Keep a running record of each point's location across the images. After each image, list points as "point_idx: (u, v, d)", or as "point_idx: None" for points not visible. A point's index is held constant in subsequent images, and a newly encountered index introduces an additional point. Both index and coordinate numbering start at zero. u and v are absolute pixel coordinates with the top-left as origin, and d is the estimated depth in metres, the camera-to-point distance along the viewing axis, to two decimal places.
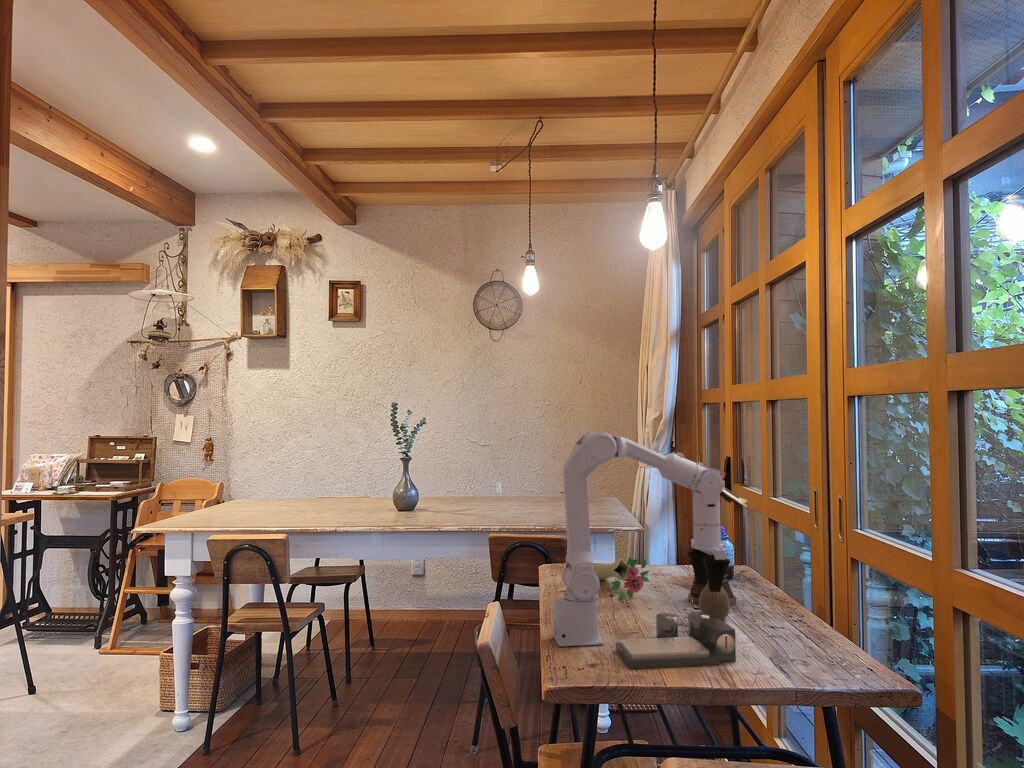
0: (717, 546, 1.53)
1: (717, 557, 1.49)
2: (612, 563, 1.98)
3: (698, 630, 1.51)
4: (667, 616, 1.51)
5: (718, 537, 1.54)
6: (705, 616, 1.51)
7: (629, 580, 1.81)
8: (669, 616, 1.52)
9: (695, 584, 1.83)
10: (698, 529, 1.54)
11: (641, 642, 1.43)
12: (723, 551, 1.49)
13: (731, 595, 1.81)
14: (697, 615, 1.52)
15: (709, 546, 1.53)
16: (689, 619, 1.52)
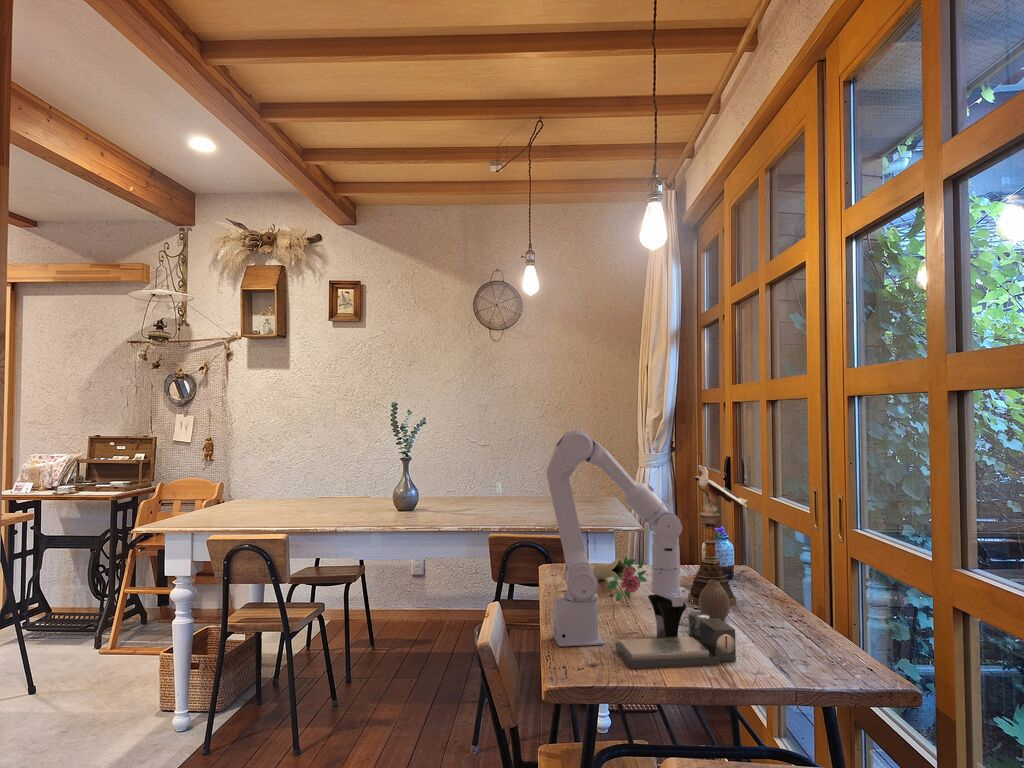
0: (676, 591, 1.50)
1: (674, 604, 1.45)
2: (611, 563, 1.98)
3: (698, 630, 1.51)
4: None
5: (677, 582, 1.50)
6: (705, 616, 1.51)
7: (626, 580, 1.81)
8: None
9: (695, 584, 1.83)
10: (657, 573, 1.51)
11: (641, 642, 1.43)
12: (681, 598, 1.45)
13: (731, 595, 1.81)
14: (697, 615, 1.52)
15: (667, 591, 1.50)
16: (689, 619, 1.52)
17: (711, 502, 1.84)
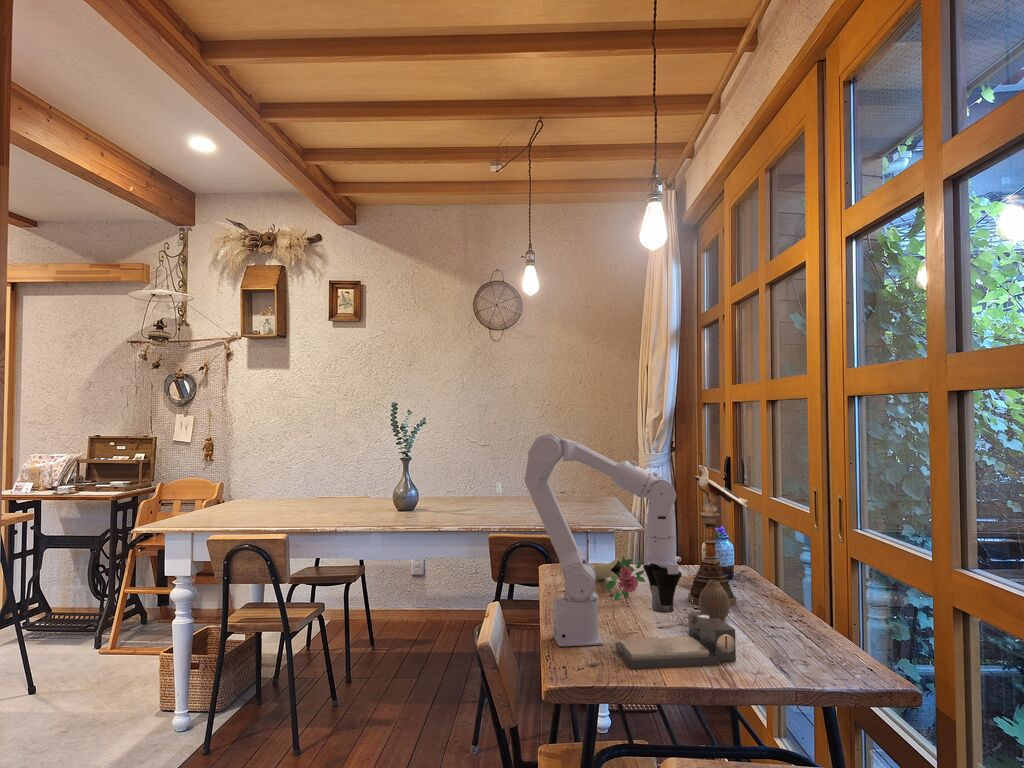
0: (671, 560, 1.48)
1: (670, 572, 1.43)
2: (610, 563, 1.98)
3: (698, 630, 1.51)
4: None
5: (672, 550, 1.48)
6: (705, 616, 1.51)
7: (623, 580, 1.81)
8: None
9: (695, 584, 1.83)
10: (652, 542, 1.49)
11: (641, 642, 1.43)
12: (676, 565, 1.43)
13: (731, 595, 1.81)
14: (697, 615, 1.52)
15: (663, 560, 1.47)
16: (689, 619, 1.52)
17: (711, 502, 1.84)
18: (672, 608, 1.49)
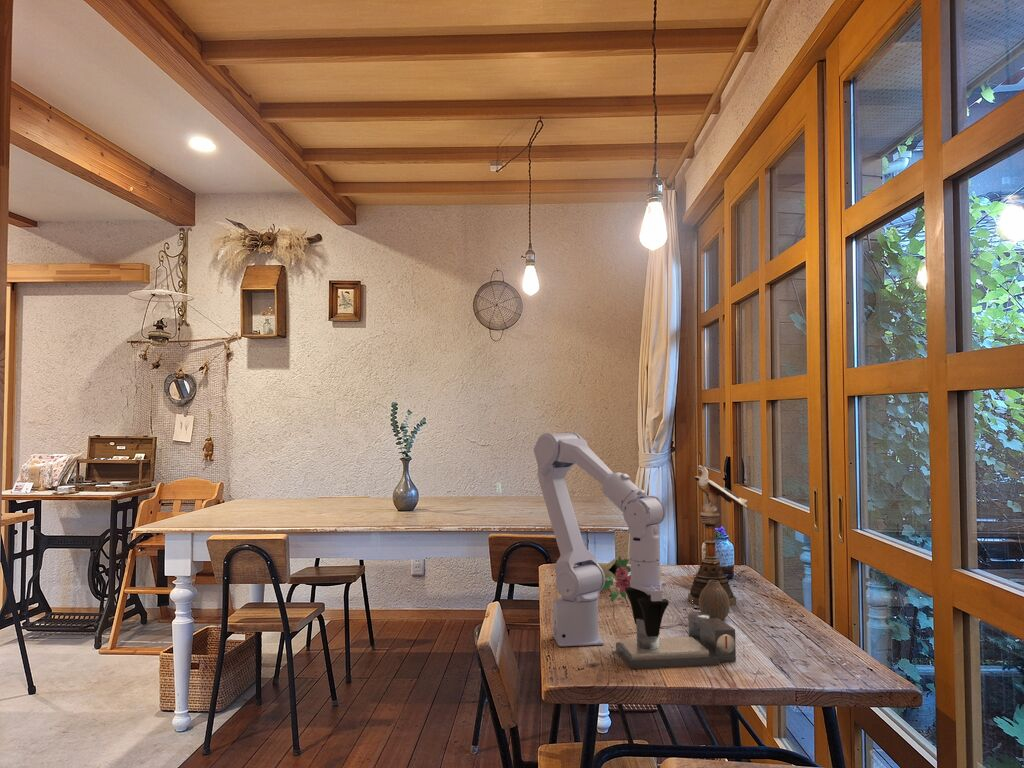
0: (655, 585, 1.38)
1: (653, 599, 1.33)
2: (608, 563, 1.98)
3: (698, 630, 1.51)
4: None
5: (657, 575, 1.39)
6: (705, 616, 1.51)
7: (620, 580, 1.81)
8: None
9: (695, 584, 1.83)
10: (635, 566, 1.39)
11: None
12: (660, 592, 1.34)
13: (731, 595, 1.81)
14: (697, 615, 1.52)
15: (646, 585, 1.38)
16: (689, 619, 1.52)
17: (711, 502, 1.84)
18: (658, 643, 1.39)
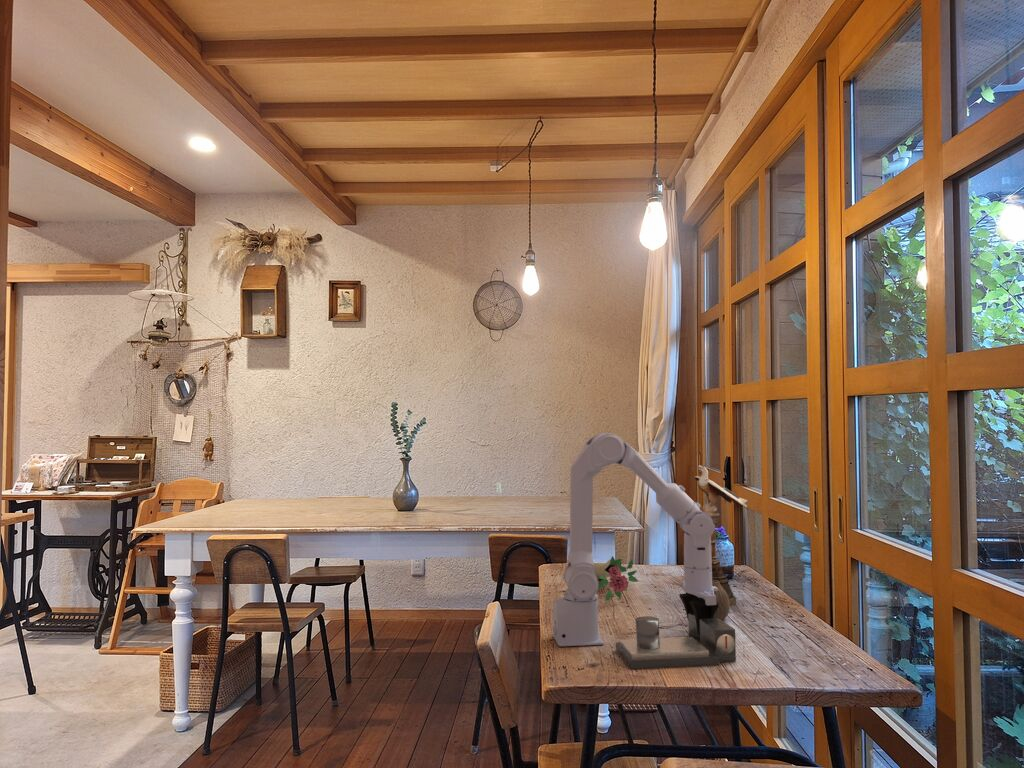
0: (708, 590, 1.51)
1: (708, 603, 1.46)
2: (605, 563, 1.99)
3: None
4: (648, 620, 1.40)
5: (709, 581, 1.51)
6: None
7: (614, 580, 1.82)
8: (650, 619, 1.40)
9: None
10: (689, 572, 1.52)
11: None
12: (714, 597, 1.46)
13: (731, 595, 1.81)
14: None
15: (700, 590, 1.50)
16: (689, 619, 1.52)
17: (711, 502, 1.84)
18: (658, 643, 1.39)
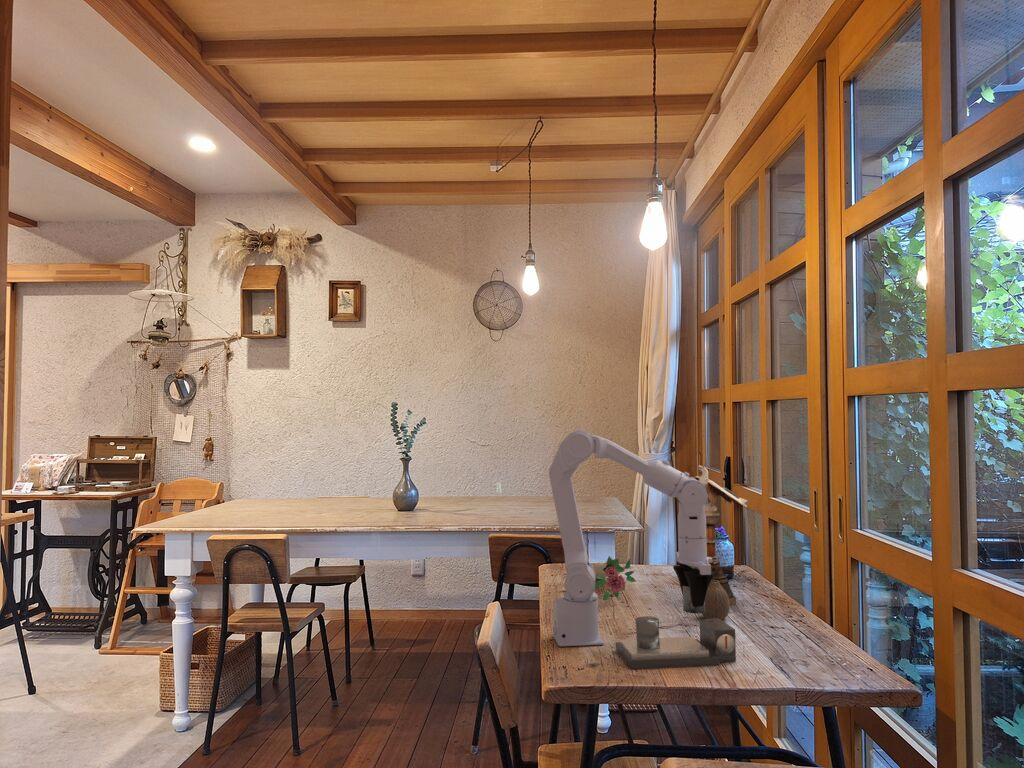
0: (703, 560, 1.47)
1: (702, 572, 1.42)
2: None
3: None
4: (648, 620, 1.40)
5: (704, 551, 1.48)
6: None
7: (611, 579, 1.82)
8: (650, 619, 1.40)
9: None
10: (683, 542, 1.48)
11: None
12: (709, 566, 1.42)
13: (731, 595, 1.81)
14: None
15: (694, 560, 1.47)
16: (684, 591, 1.49)
17: (711, 502, 1.84)
18: (659, 643, 1.39)
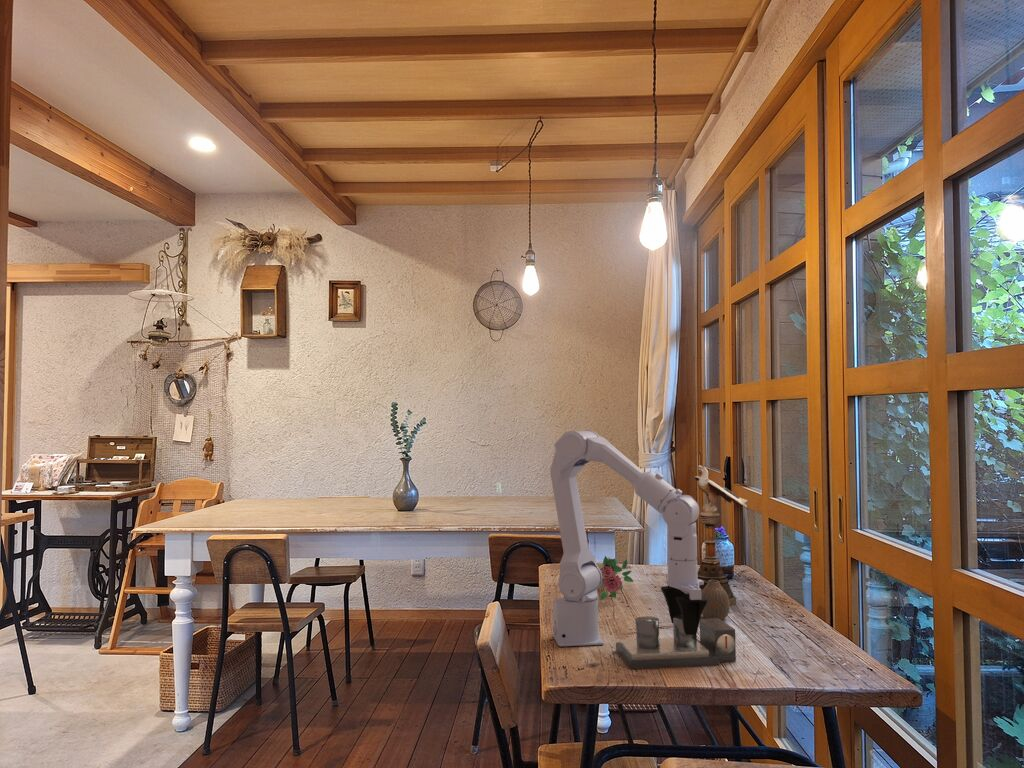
0: (693, 584, 1.39)
1: (692, 597, 1.34)
2: None
3: (684, 635, 1.39)
4: (648, 620, 1.40)
5: (694, 574, 1.40)
6: None
7: (607, 579, 1.82)
8: (650, 619, 1.40)
9: None
10: (672, 565, 1.40)
11: None
12: (699, 590, 1.34)
13: (731, 595, 1.81)
14: None
15: (684, 584, 1.39)
16: (674, 623, 1.41)
17: (711, 502, 1.84)
18: (659, 642, 1.39)
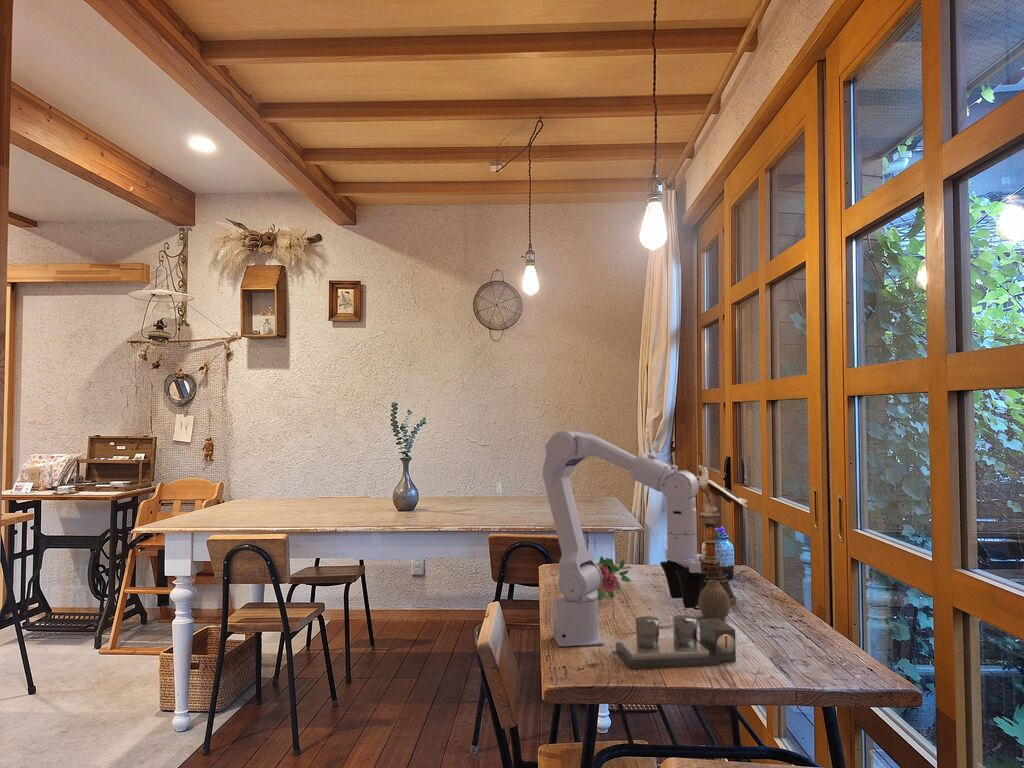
0: (693, 557, 1.39)
1: (692, 570, 1.35)
2: None
3: (685, 635, 1.39)
4: (648, 620, 1.40)
5: (694, 547, 1.40)
6: (692, 620, 1.40)
7: None
8: (650, 619, 1.40)
9: None
10: (672, 539, 1.40)
11: None
12: (698, 563, 1.35)
13: (731, 595, 1.81)
14: (683, 619, 1.41)
15: (684, 557, 1.39)
16: (675, 623, 1.41)
17: (711, 502, 1.84)
18: (659, 642, 1.40)
